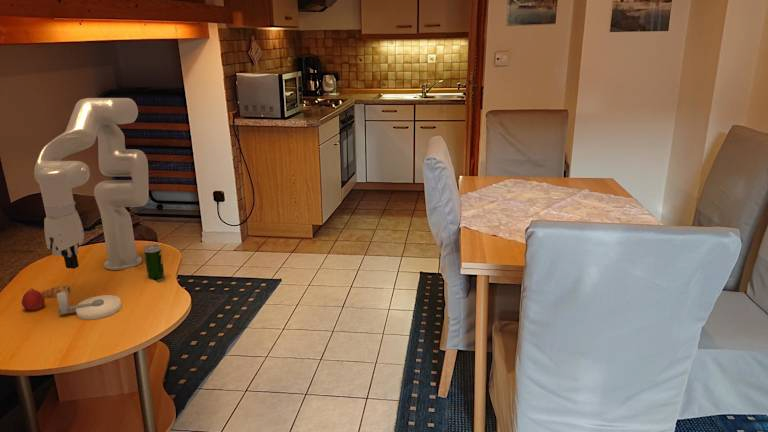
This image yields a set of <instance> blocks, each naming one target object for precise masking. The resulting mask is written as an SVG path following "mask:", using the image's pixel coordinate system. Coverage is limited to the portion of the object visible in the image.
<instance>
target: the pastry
mask: <svg viewBox="0 0 768 432" xmlns="http://www.w3.org/2000/svg"><path fill="white" fill-rule="evenodd" d="M69 290H71V286H70V285H69V284H65V285H56V286H54V287H50V288H47V289H46V290H43V291H40V293H42V294H43V296H44V298H45V299H55V298H56V299H57V293H59V292H66V295H67V297H68V296H69V295H70V293H69Z"/></svg>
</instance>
